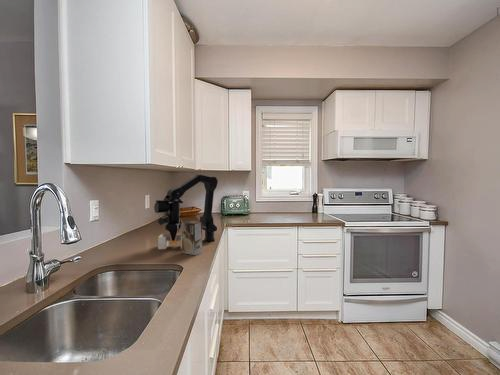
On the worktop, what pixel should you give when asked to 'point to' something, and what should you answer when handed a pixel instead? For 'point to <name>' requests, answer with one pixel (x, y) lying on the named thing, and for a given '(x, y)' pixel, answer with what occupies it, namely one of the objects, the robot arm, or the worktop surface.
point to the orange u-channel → (173, 241)
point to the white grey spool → (164, 240)
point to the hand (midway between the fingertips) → (174, 239)
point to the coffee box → (192, 237)
